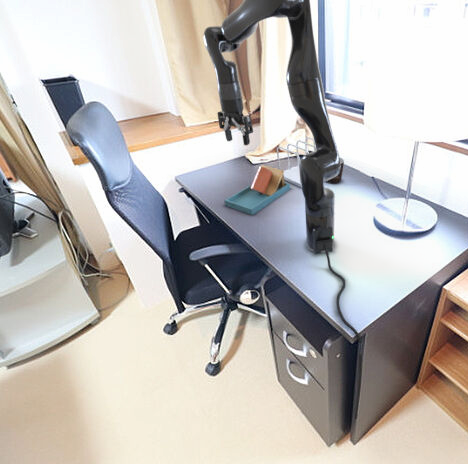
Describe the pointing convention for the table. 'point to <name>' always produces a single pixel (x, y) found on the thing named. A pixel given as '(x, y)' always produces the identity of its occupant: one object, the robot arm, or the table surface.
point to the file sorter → (294, 173)
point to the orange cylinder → (261, 180)
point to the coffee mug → (339, 176)
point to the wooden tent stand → (274, 180)
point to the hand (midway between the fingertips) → (238, 142)
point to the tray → (253, 199)
